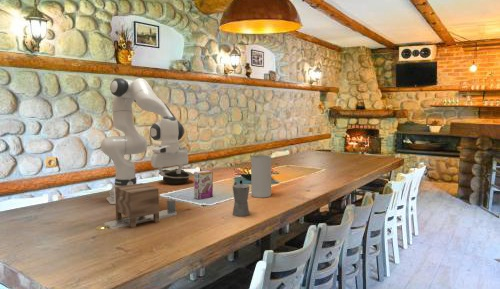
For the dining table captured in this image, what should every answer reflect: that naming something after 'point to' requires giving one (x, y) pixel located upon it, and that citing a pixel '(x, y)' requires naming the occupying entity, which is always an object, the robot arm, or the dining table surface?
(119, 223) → the grey long bar
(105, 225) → the brass token
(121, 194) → the walnut cabinet
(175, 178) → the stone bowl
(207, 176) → the candy bar box
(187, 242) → the dining table surface
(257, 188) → the cylinder vase
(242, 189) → the coffeepot
